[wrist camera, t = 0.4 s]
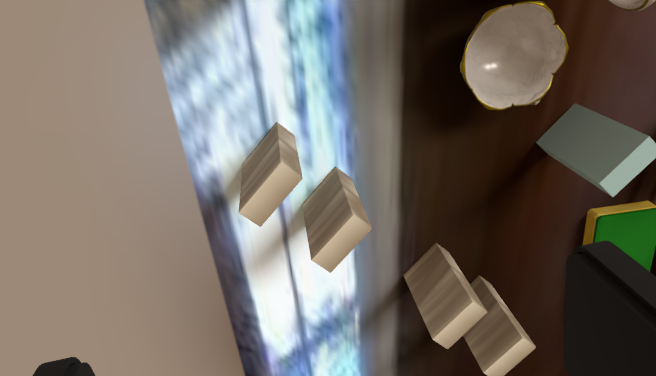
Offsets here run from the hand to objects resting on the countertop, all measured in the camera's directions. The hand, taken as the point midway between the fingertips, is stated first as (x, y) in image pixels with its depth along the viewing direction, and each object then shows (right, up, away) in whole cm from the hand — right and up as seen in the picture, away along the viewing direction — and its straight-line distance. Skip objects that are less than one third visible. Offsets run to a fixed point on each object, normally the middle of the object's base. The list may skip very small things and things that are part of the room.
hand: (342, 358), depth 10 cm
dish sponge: (+31, -4, +47) cm, 56 cm away
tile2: (0, +3, +38) cm, 38 cm away
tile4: (+10, -5, +43) cm, 45 cm away
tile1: (-6, +7, +36) cm, 37 cm away
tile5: (+15, -9, +46) cm, 49 cm away
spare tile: (+22, +9, +39) cm, 45 cm away
